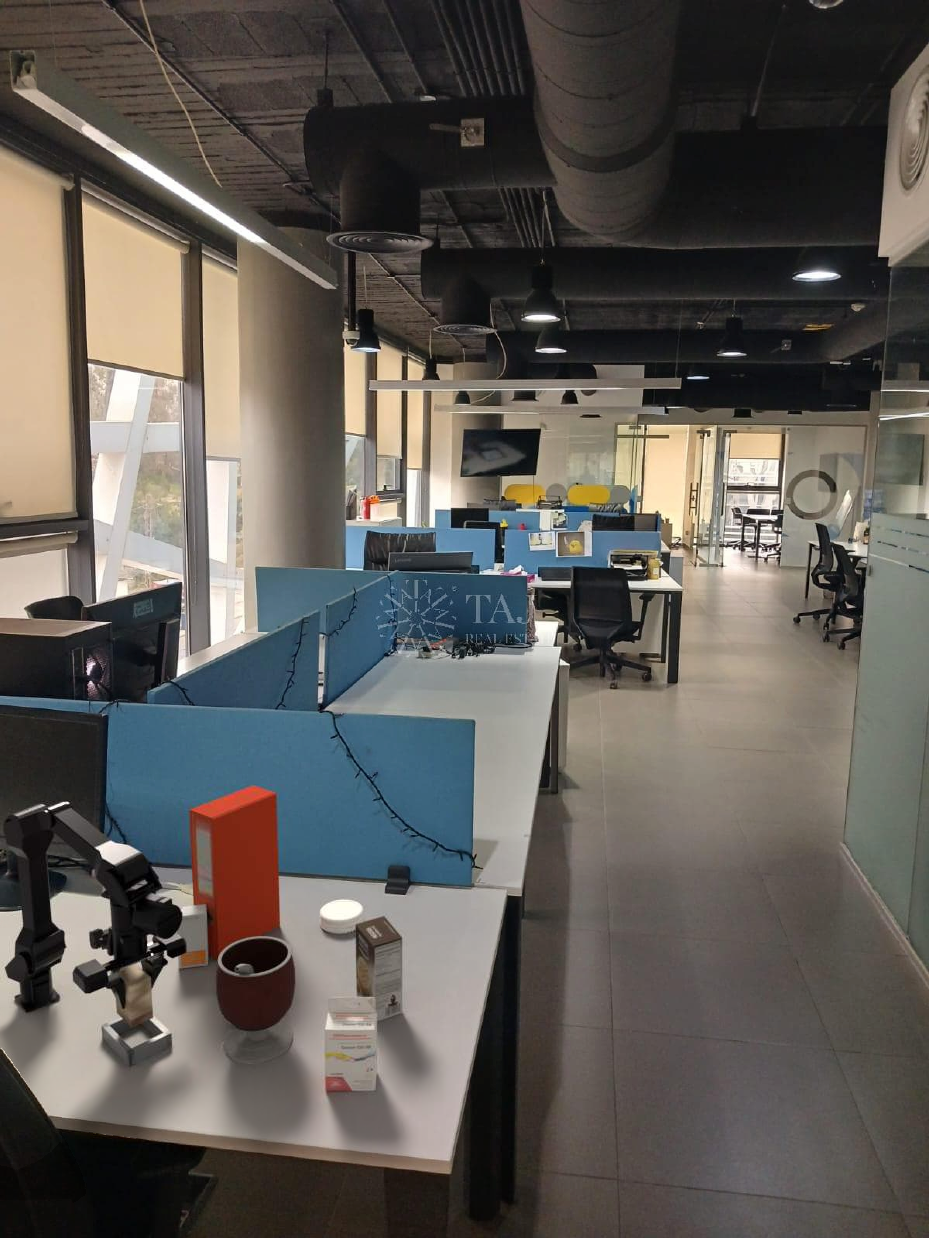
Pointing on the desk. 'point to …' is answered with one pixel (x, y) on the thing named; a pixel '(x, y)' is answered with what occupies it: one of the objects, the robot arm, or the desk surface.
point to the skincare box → (194, 936)
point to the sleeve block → (136, 996)
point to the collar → (142, 1050)
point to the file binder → (236, 865)
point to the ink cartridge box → (351, 1045)
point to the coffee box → (379, 965)
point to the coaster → (341, 916)
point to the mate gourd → (256, 997)
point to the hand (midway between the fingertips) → (134, 1002)
